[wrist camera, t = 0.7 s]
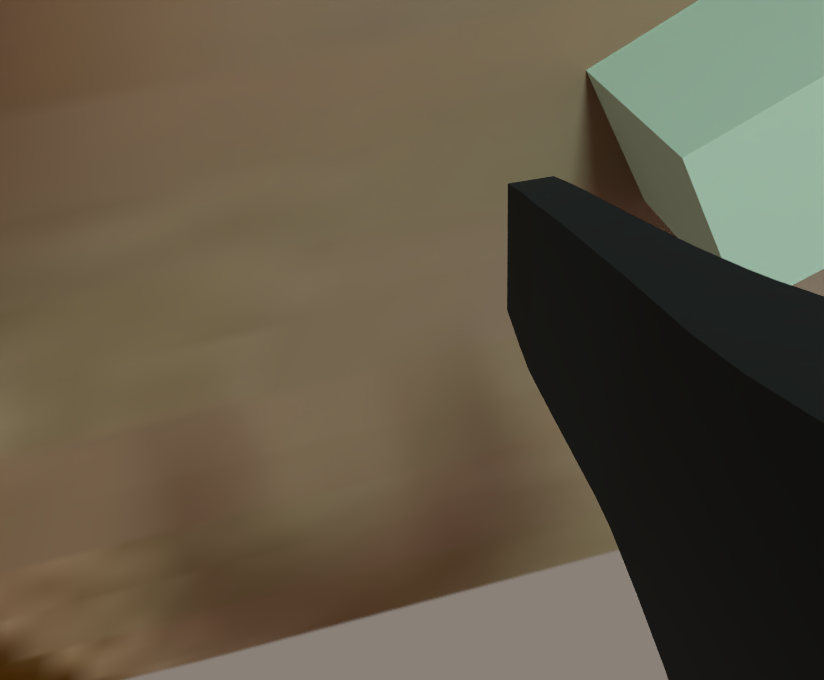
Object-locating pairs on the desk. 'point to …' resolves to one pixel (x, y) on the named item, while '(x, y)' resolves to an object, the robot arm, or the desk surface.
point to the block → (728, 129)
